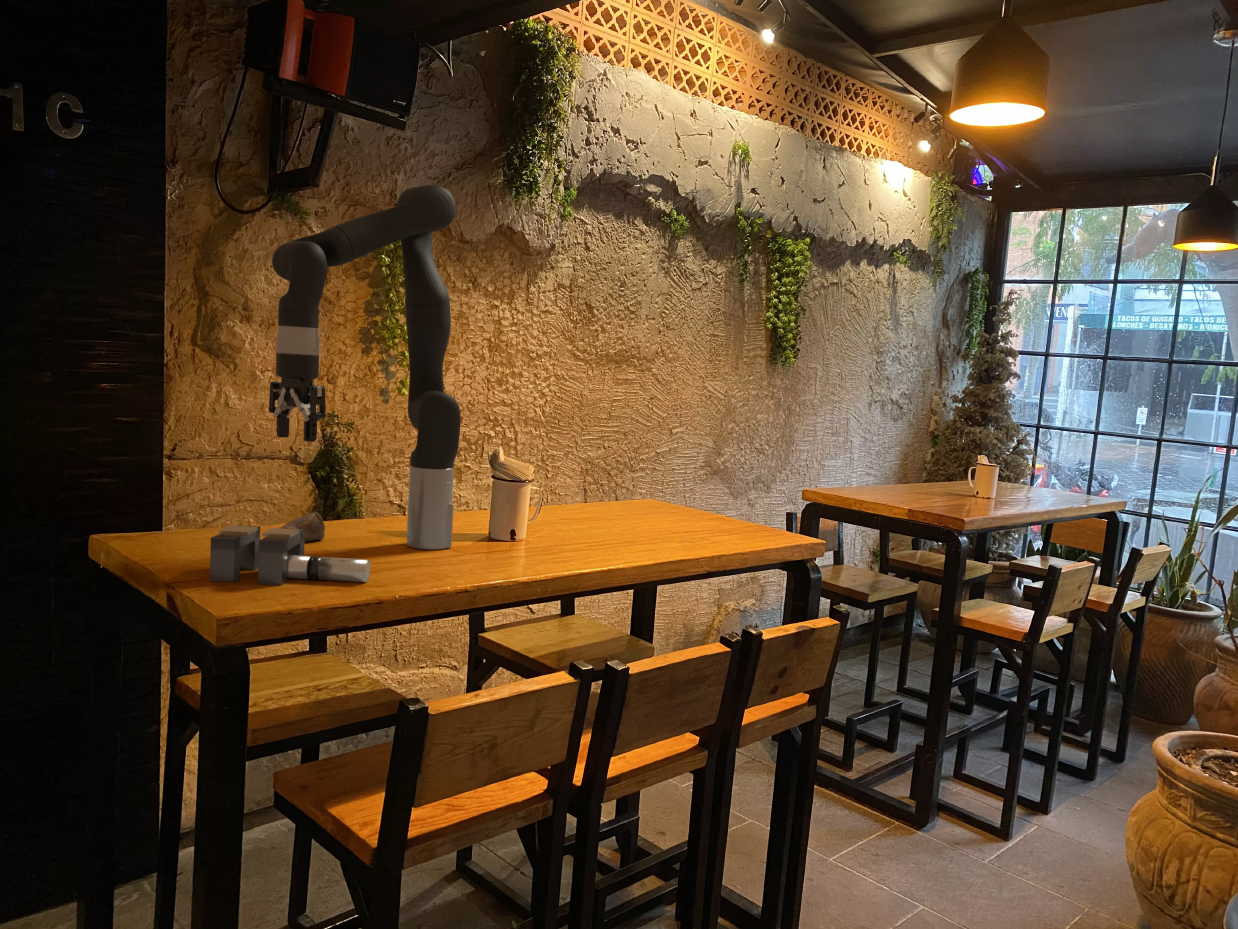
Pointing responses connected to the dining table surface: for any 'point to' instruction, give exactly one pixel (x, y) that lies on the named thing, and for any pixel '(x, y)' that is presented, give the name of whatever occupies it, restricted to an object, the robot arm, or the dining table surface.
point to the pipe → (309, 526)
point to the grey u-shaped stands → (254, 553)
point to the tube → (328, 568)
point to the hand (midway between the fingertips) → (296, 439)
